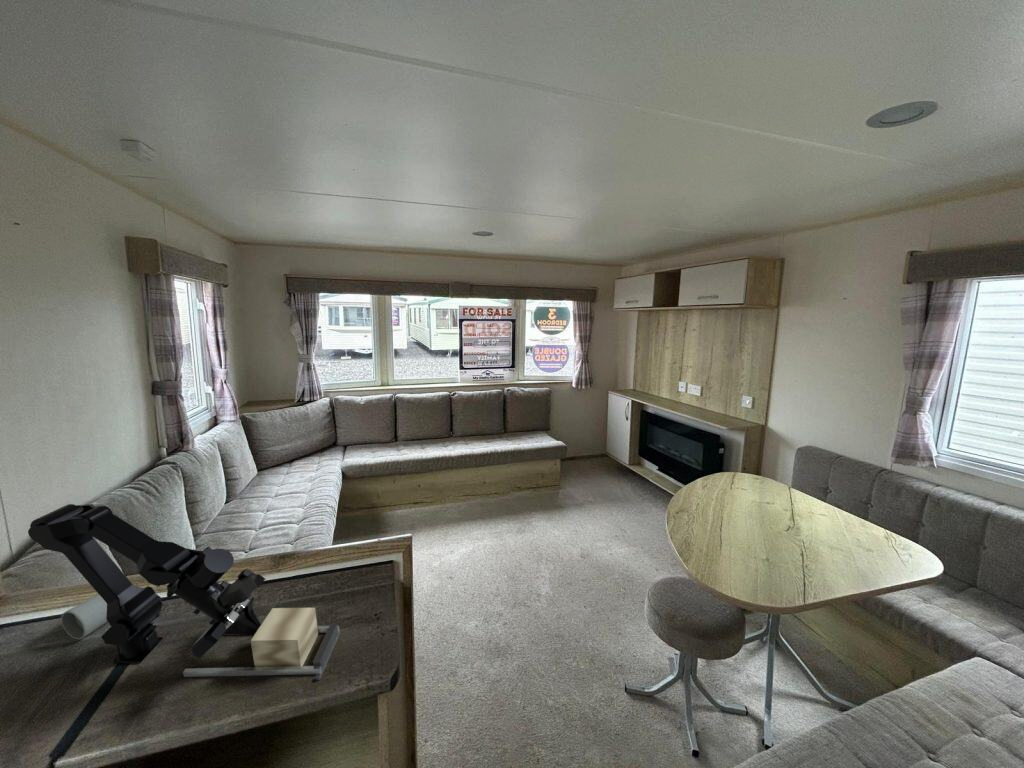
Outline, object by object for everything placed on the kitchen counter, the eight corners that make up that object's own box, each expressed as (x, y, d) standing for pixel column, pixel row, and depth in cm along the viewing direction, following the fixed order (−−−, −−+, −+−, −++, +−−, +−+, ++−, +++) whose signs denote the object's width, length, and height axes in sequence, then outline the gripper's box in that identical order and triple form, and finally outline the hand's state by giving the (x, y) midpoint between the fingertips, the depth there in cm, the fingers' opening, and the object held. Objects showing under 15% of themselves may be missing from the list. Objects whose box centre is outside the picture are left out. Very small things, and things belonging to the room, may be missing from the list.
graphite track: (183, 683, 87) (180, 668, 86) (221, 634, 99) (218, 621, 98) (319, 680, 89) (318, 665, 88) (340, 632, 101) (339, 619, 100)
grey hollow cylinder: (125, 616, 104) (119, 591, 102) (87, 642, 96) (79, 616, 94) (94, 608, 106) (87, 584, 104) (54, 634, 98) (46, 608, 96)
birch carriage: (255, 669, 89) (250, 640, 87) (276, 635, 98) (272, 608, 96) (301, 668, 90) (297, 639, 88) (318, 634, 99) (315, 607, 97)
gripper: (196, 604, 79) (261, 648, 82) (252, 544, 97) (303, 582, 100) (162, 637, 80) (227, 679, 84) (223, 572, 98) (274, 609, 102)
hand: (262, 633), depth 92 cm, fingers closed, pressing on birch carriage
